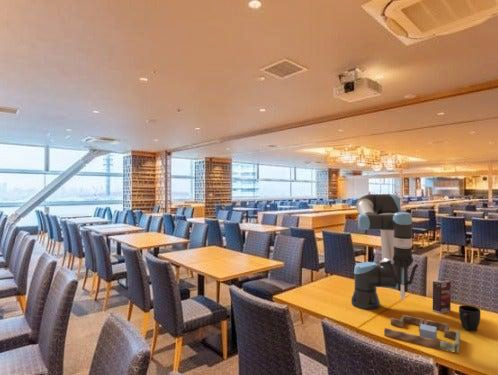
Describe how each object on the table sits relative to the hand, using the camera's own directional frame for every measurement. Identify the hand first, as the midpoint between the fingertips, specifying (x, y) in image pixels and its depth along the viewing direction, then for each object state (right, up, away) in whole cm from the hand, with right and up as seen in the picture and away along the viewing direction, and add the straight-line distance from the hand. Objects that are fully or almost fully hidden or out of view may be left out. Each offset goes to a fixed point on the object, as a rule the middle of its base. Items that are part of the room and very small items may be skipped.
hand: (402, 298), depth 146 cm
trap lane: (+8, -16, -2) cm, 18 cm away
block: (+8, -16, -6) cm, 19 cm away
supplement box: (+32, -16, +24) cm, 43 cm away
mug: (+31, -16, +2) cm, 35 cm away
